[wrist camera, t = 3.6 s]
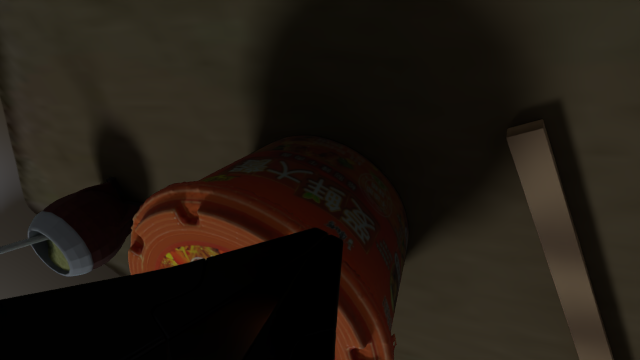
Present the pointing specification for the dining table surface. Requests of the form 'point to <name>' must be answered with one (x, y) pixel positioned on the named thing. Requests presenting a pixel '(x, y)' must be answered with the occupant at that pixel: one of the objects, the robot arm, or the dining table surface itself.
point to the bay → (558, 238)
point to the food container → (291, 226)
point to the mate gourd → (81, 229)
